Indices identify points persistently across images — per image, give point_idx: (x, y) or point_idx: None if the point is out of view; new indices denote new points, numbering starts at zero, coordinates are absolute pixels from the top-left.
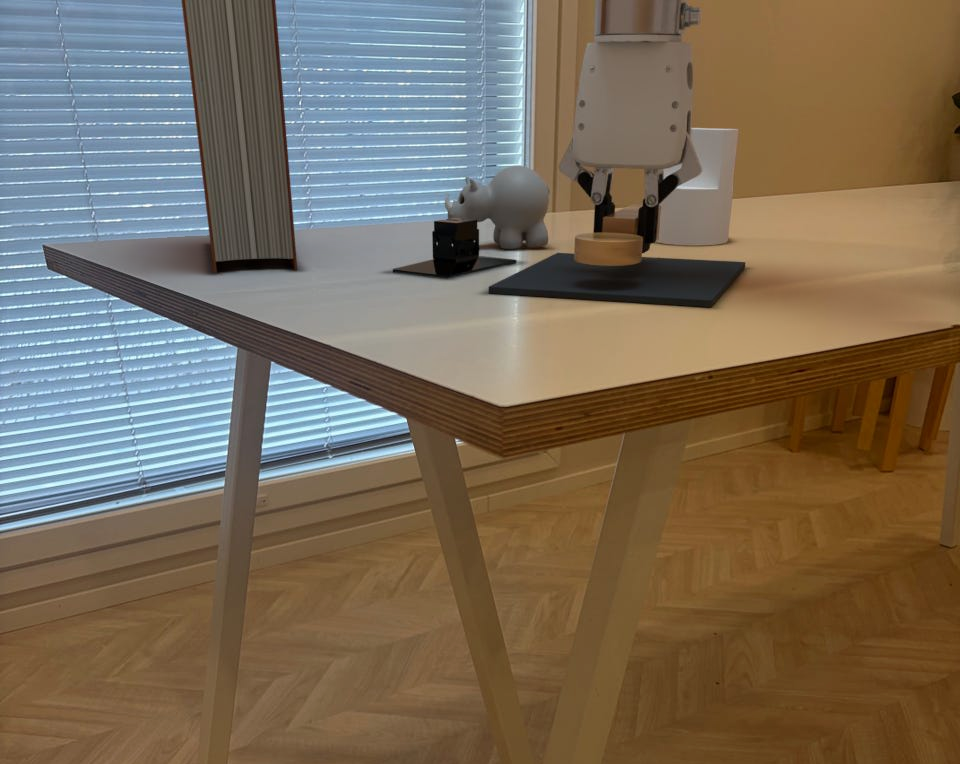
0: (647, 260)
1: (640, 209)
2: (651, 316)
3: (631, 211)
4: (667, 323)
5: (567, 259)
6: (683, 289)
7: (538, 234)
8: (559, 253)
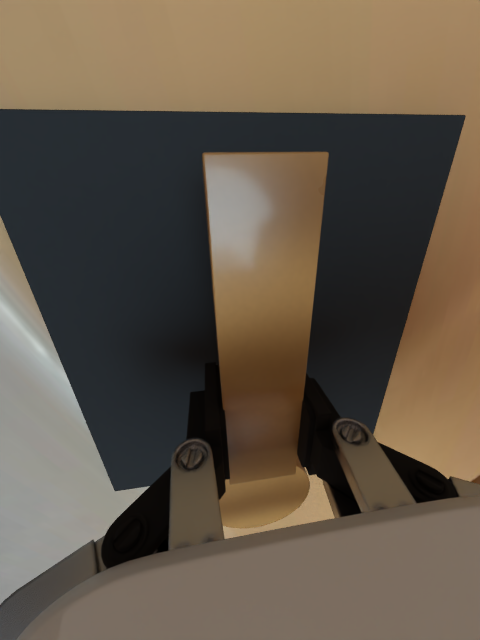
0: None
1: (306, 467)
2: (312, 490)
3: (261, 379)
4: (327, 502)
5: (69, 236)
6: None
7: None
8: None
